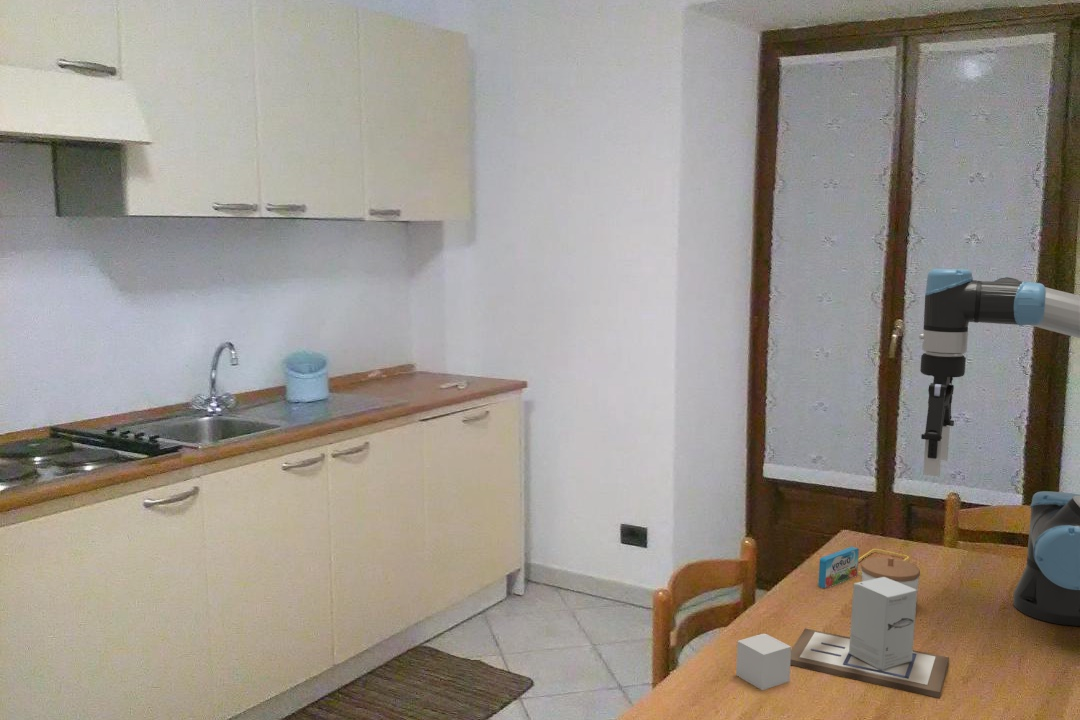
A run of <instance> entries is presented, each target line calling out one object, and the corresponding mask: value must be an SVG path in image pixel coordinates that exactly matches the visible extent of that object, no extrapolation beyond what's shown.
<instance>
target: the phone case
mask: <svg viewBox="0 0 1080 720" xmlns="http://www.w3.org/2000/svg"><path fill="white" fill-rule="evenodd" d="M874 552H877V553H876V554H881V553H884V554H885V553H886V554H887V556H889V554H891V555H894V558H896V557H897V556H898V557H899V556H900V557H904V559H903V560H904V561H907V562H910V561H909V560H910V556H908V555H906V554H901V553H897V552H894V551H888V550H884V549H881V548H880V549H879V548H872V549H870V550H869V551H867V552H866V553H864V554H863V555H862V556H860V557H858V563H860V562H861V561H863V560H864V559H866V558H867V557H869V556H870V555H872V554H873V553H874ZM871 553H872V554H871ZM868 555H869V556H868ZM865 557H866V558H865ZM863 558H864V559H863ZM862 559H863V560H862ZM860 560H861V561H860ZM859 561H860V562H859ZM861 572H862V570H861V571H860V570H858V572H857V574H858V575H857V576H860V575H861Z"/></svg>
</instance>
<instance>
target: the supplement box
mask: <svg viewBox="0 0 1080 720" xmlns="http://www.w3.org/2000/svg"><path fill="white" fill-rule="evenodd" d="M917 595H918V589H917V590H916V589H914V588H911V587H909V586H906V585H904V584H901V583H899V582H896V581H894V580H891V579H888V578H886V577H880V578H876V579H872V580H867V581H863V582H862V581H858V582H854V583H853V590H852V603H851V616H850V617H851V618H850V632H849V633H850V636H849V637H850V645H849V654H851V655H853V656H855V657H857V658H859V659H860V660H862V661H864V662H866V663H868V664H870V665H872V666H874V667H876V668H878V669H880V670H883V669H886V668H889V667H892V666H896V665H899V664H903V663H907V662H911V661H912V653H913V649H914V640H915V639H914V638H915V626H916V624H915V623H916V611H917V598H918V597H917Z"/></svg>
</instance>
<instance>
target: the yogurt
mask: <svg viewBox="0 0 1080 720" xmlns="http://www.w3.org/2000/svg"><path fill="white" fill-rule="evenodd" d="M859 552H860V549H859V548H858V547H854V546H849V547H847V548H845V549H841V550H839V551H836V552H833V553H831V554H828V555H825V556H822V557H820V559H819V569H818V585H817V587H819V588H821V587H822V588H821V589H824V588H826V589H828V588H827V587H829V588H831V587H833V586H832V585H834V586H836V585H838V583H839V584H841V583H843V581H844V582H846V581H848V579H849V580H850V578H851V579H853V578H852V577H854V578H855V576H856V577H857V576H858V575H857V572H858V571H859V570H858V569H859V567H858V566H859V562H858V558H859ZM845 580H846V581H845ZM840 582H841V583H840ZM835 584H836V585H835ZM830 586H831V587H830Z"/></svg>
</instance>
